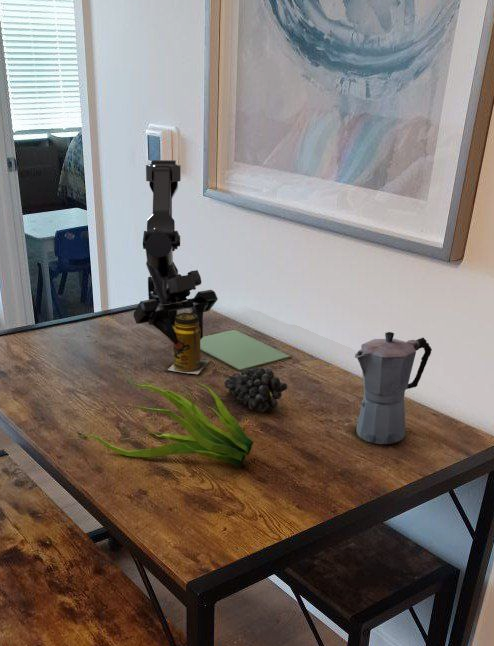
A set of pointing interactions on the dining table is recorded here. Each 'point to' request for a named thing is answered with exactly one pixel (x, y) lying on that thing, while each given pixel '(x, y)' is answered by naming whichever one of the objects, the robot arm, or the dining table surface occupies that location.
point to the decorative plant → (196, 432)
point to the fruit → (256, 388)
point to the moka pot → (387, 386)
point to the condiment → (187, 345)
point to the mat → (239, 350)
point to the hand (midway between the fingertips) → (188, 340)
